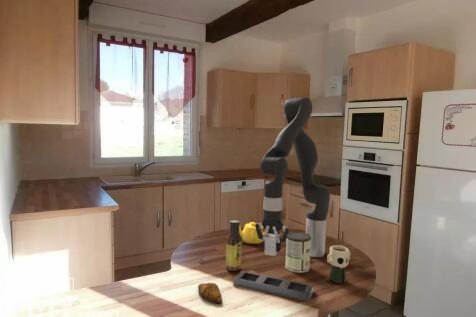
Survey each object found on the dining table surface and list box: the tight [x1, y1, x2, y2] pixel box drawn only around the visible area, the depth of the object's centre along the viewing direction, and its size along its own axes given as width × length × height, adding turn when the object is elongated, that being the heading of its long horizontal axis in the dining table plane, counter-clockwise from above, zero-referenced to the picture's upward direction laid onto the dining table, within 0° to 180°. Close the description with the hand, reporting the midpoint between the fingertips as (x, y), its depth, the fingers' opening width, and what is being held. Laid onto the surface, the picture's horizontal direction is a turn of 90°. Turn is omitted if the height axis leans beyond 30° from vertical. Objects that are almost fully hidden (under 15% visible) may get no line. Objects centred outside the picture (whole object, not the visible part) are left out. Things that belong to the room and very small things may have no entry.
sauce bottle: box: [225, 219, 243, 272], centre depth 138 cm, size 7×6×20 cm
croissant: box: [197, 282, 223, 305], centre depth 115 cm, size 14×7×5 cm, turn 37°
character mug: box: [326, 245, 351, 284], centre depth 130 cm, size 11×7×13 cm, turn 113°
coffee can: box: [284, 231, 311, 274], centre depth 142 cm, size 10×10×14 cm
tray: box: [232, 270, 314, 302], centre depth 122 cm, size 8×28×2 cm, turn 68°
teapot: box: [239, 221, 265, 245], centre depth 174 cm, size 14×13×10 cm
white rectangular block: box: [264, 234, 280, 257], centre depth 131 cm, size 4×4×7 cm
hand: (271, 250), depth 131 cm, fingers closed on white rectangular block, 4 cm apart
